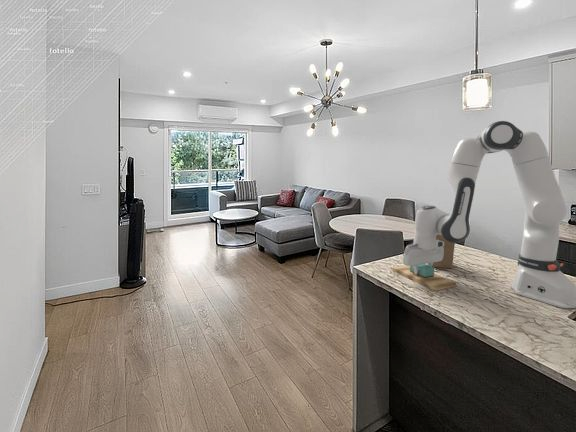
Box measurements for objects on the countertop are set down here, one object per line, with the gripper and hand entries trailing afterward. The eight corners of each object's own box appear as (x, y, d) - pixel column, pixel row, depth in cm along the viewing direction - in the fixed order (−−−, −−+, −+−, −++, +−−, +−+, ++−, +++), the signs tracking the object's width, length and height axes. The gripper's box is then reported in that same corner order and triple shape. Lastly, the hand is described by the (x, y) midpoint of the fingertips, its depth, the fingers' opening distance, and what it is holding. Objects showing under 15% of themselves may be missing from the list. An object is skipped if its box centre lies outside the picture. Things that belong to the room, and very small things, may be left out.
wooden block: (452, 268, 151) (456, 228, 148) (430, 267, 153) (433, 227, 150) (446, 262, 161) (450, 224, 157) (425, 260, 163) (428, 223, 159)
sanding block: (433, 276, 137) (434, 267, 136) (424, 278, 135) (425, 269, 134) (418, 269, 145) (418, 261, 144) (409, 271, 143) (410, 262, 142)
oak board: (456, 286, 130) (456, 282, 130) (434, 290, 126) (435, 287, 125) (411, 267, 153) (412, 264, 153) (392, 270, 149) (392, 267, 148)
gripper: (411, 247, 130) (409, 278, 133) (447, 242, 138) (444, 271, 140) (400, 243, 136) (398, 273, 139) (435, 238, 144) (433, 267, 146)
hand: (422, 272), depth 140 cm, fingers closed on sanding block, 5 cm apart
